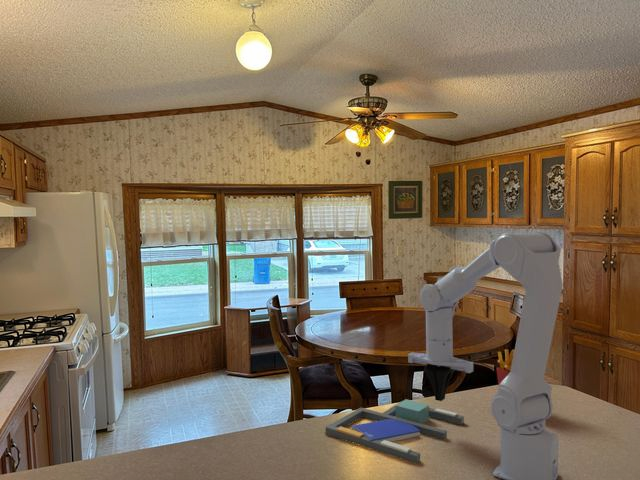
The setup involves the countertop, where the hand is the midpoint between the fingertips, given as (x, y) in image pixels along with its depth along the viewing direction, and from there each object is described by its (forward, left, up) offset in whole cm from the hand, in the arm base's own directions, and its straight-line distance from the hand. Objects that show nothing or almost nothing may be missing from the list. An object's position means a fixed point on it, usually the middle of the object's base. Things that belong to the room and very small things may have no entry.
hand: (440, 399), depth 106 cm
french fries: (-10, -23, -7) cm, 26 cm away
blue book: (+9, +9, -7) cm, 14 cm away
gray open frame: (+8, +10, -7) cm, 15 cm away
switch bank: (+5, -1, -7) cm, 9 cm away
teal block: (+8, -1, -7) cm, 10 cm away
